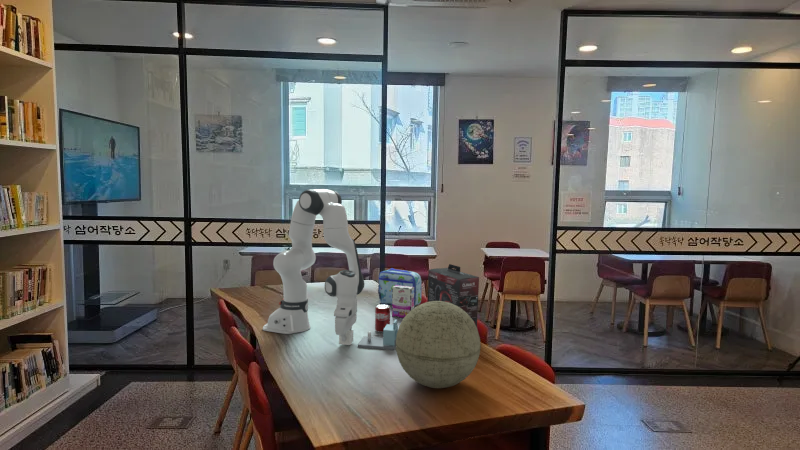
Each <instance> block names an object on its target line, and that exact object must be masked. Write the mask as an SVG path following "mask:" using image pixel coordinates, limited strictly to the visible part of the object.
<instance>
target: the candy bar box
mask: <svg viewBox="0 0 800 450" xmlns="http://www.w3.org/2000/svg"><path fill="white" fill-rule="evenodd" d="M414 308H415V306H414V287H409V286H398V285H395V286H393V287H392V305H391V317H393V318H399V319H400V318H401V319H404V317H405V316H406V315H407V314H408V313H409V312H410V311H411V310H412V309H414Z"/></svg>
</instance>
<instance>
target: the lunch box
mask: <svg viewBox="0 0 800 450" xmlns="http://www.w3.org/2000/svg"><path fill="white" fill-rule="evenodd" d="M421 277H422V276H421V275H420V274H419V273H417V272H415V271H411V270H404V269H403V270H402V269H395V268H393V267H391V268H389V269H387V270H383V271H380V272H379V274H378V286H377V287H378V288H377V295H378V299H379V302H380V303H381V305H389V306H390V305H391V306H392V287H393V286H395V285H398V286H409V287H414V307H417V306H418V305H421V304H422V303H421V302H422V291H423V290H422V289H423V288H422V287H423V286H422V278H421Z"/></svg>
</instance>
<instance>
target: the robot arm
mask: <svg viewBox="0 0 800 450" xmlns="http://www.w3.org/2000/svg"><path fill="white" fill-rule="evenodd" d="M342 202H343V200H342V196H341V194H340V193H339V192H338V191H336V190H334V189H327V188H326V189H325V188H318V189H317V188H315V189H313V188H312V189H311V188H310V189H306V190H303V191H302V192H301V193H300V195H299V198H298V200H297V201H296V203H295V206H294V208H293V211H292V215H291V217H290V218H291V219H290V225H289V230H288V238H289V239H290V240H291V248H290V249H287V250H283V251H281V252H279V253H278V254H277V255H276V256H274V258H273V262H272V263H273V268H274V270H275V271H276V272H277V273H278V274H279V276H280V278H281V281H282V286H283V298H282V300H280V301H279V302H278V305H279V306H280V307H278V308H277V309H276V310H274V312H272V313H270V315H269V317H268V319H267V323H266V324H264V325H263V326H262V331H265V332H272V333H278V334H283V335H291V334H296V333H302V332H307V331H308V330H310V329H311V325H310V320H309V315H308V310H309V300H308V284H307V282H306V281H305V280H304V279H303V276H302V271H303V270H306V269H309V268H310V267H311V266H313V265H314V264H315V262H316V259H317V256H316V253H315V251H314V250H313V241H312V240H313V234H314V230H315V229H314V228H315V223H316V218H317V216H318V215H320V216H321V219H322V222H323V223H322V231H323V239H324V242H325V243H326V244H327V245H329V246H330V247H331V248H334V249H337V250H339V251H341V252H343V253H344V254H345V255H346V258H347V265H348V269H343V270H340V271H339V272H338V273H336V274H334V275H333V274H332V275H329V276H328V277H326V279H325V282H324V292H325V293H326V294H327V295H328V296H329V297H333V298H335V297H336V298H337V299H336V307H335V309H334V312H333V316H334V317H335V318H334V331H335V332H334V333H335V334H336V335H337V336H339V335H341V337H342V341H344V342H345V341H346V338H347V337H346V332H347V331H348V330H353V326H354V325H355V324H356V323H357V315H358V314H357V312H358V298H357V296H358V295H360V294H361V293H362V291H363V290H364V289H365V280H364V276H363V274H362V270H361V264H360V259H359V254H358V249H357V245H356V242H355V240H354V239H353V238H351V235H350V233H349V223H348V215H347V210H346V208H345V206H344V205H342Z"/></svg>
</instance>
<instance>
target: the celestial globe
mask: <svg viewBox="0 0 800 450" xmlns="http://www.w3.org/2000/svg"><path fill="white" fill-rule="evenodd" d="M395 352H396V355H397V359H398V361H399V363H400V365H401V367H402V369H403V371H404V372H405V373H406V374H407V375H408V376H409V377H410V378H411V379H412V380H414V381H415V382H416V383H418V384H420V385H422V386H425V387H428V388H431V389H445V388H450V387H453V386H456V385H457V384H459V383H461V382H463V381H464V380H465V379H466V378H467V377H468V376H470V375H471V373H472V372H473V370H474V369H475V367H476V365H477V364H478V361H479V357H480V353H481V338H480V334H479V330H478V326H477V327H476V325H475V323H474V321H473V320H472V319H471V317H470V316H469V315H468V314H467V313H466V312H465V311H464V310H462V309H461V308H460V307H458V306H456V305H454V304H452V303H448V302H443V301H431V302H428V301H426V302H423V303H420V304H419V305H416V306H414V309H412V310H411V311H410V312H409V313H408V314H407V315H406V316H405V317H404V318H402V320H401V322H400V323H399V325H398V332H397V336H396V347H395Z"/></svg>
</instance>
